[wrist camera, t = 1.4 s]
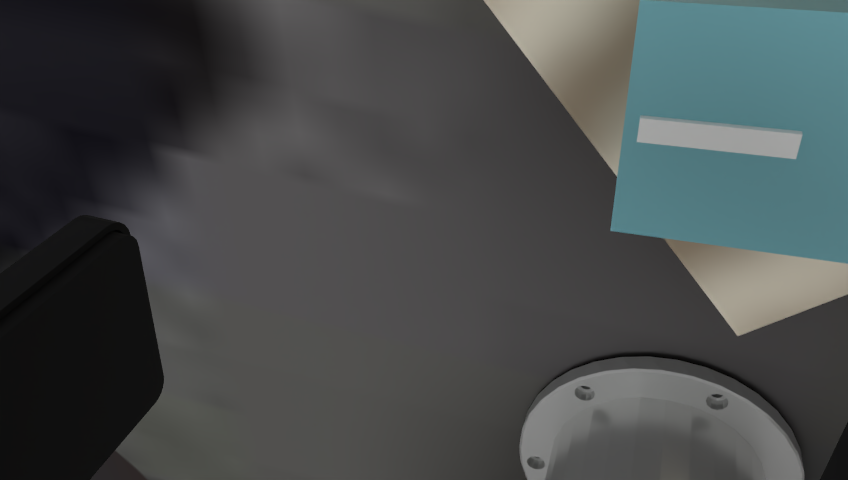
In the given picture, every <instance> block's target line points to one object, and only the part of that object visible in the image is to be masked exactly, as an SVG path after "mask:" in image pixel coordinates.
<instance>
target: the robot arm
mask: <svg viewBox="0 0 848 480" xmlns="http://www.w3.org/2000/svg"><path fill="white" fill-rule="evenodd" d="M163 383H164V375H163V370H162V365H161V359H160V354H159V349H158V344H157V339H156V334H155V328H154V323H153V318H152V313H151V308H150V302H149V297H148V292H147V287H146V282H145V277H144V271H143V266H142V261H141V256H140V251H139V246H138V243H137V240H136V239H135V238H134V237H133V236H131V235H130V232H129V229H128V228H127V227H126V226H125V225H124V224H122V223H120V222H115V221H111V220H106V219H102V218H97V217H93V216H89V215H83V216H79V217H77V218H75V219H74V220H72V221H71V222H70V223H68V224H67V225H65V226H64V227H63V228H61V229H60V230H59V231H57V232H56V233H55V234H53V235H52V236H51V237H49V238H48V239H46V240H45V241H44V242H42V243H41V244H40V245H38V246H37V247H36V248H34V249H33V250H32V251H30V252H29V253H27V254H26V255H25V256H23V257H22V258H21V259H19V260H18V261H17V262H15V263H14V264H13V265H11V266H10V267H8V268H7V269H6V270H4V271H3V272H2V273H0V480H90V479H91V478H92V476H93V475H94V474H95V473H96V472H97V470H98V469H99V468H100V467H101V466H102V465H103V463H104V462H105V461H106V460H107V459H108V458H109V457H110V455H111V454H112V453H113V452H114V451H115V450H116V448H117V447H118V446H119V445H120V444H121V442H122V441H123V440H124V439H125V438H126V437H127V435H128V434H129V433H130V432H131V431H132V430H133V428H134V427H135V426H136V425H137V424H138V423H139V421H140V420H141V419H142V418H143V417H144V416H145V414H146V413H147V412H148V411H149V410H150V409H151V407H152V406H153V405H154V404H155V403H156V401H157V400H158V398H159V396H160V394H161V392H162V388H163ZM519 450H520V461H521V465H522V468H523V470H524V473H525V476H526V478H527V480H804V468H803V461H802V455H801V449H800V447H799V445H798V443H797V440H796V438H795V436H794V434H793V431H792V429H791V428H790V427H789V425H788V424H787V423H786V421H785V420H784V419H783V418H782V416H781V415H780V414H779V412H778V411H777V410H776V409H775V408H774V407H772V406H771V405H770V404H769V403H768V402H767V401H766V400H764V399H763V398H762V397H761V396H760V395H759V394H758V393H756V392H754V391H753V390H751V389H750V388H748V387H746V386H745V385H743V384H741V383H740V382H738V381H736V380H735V379H733V378H731V377H728V376H726V375H724V374H721V373H719V372H716V371H714V370H712V369H709V368H707V367H703V366H699V365H696V364H692V363H688V362H684V361H680V360H675V359H666V358H658V357H650V356H644V357H618V358H612V359H606V360H601V361H595V362H592V363H589V364H586V365H583V366H581V367H578V368H575V369H572V370H570V371H568V372H567V373H565V374H563V375H562V376H560V377H558V378H557V379H555V380H553V381H552V382H551V383H550V384H549V385H548V386H547V387H545V388H544V389H543V390H542V391H541V392H540V393H539V394H538V395H537V397H536V398H535V400H534V402H533V403H532V405H531V406H530V408H529V409H528V412H527V415H526V419H525V422H524V425H523V428H522V432H521V439H520V445H519ZM820 480H848V423H847V425H846V427H845V429H844V431H843V433H842V435H841V437H840V439H839V442H838V444H837V446H836V448H835V450H834V452H833V454H832V456H831V458H830V460H829V462H828V465H827V467H826V469H825V471H824V473H823V475H822V477H821V479H820Z"/></svg>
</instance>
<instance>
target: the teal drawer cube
mask: <svg viewBox="0 0 848 480" xmlns="http://www.w3.org/2000/svg"><path fill="white" fill-rule="evenodd" d="M610 231H615V232H623V233H630V234H637V235H644V236H652V237H659V238H666V239H673V240H680V241H688V242H695V243H702V244H709V245H717V246H724V247H731V248H738V249H745V250H753V251H760V252H767V253H774V254H781V255H789V256H796V257H803V258H810V259H818V260H825V261H832V262H839V263H846V264H848V0H640V2H639V10H638V18H637V26H636V33H635V41H634V49H633V57H632V65H631V73H630V81H629V88H628V96H627V104H626V112H625V120H624V128H623V136H622V143H621V151H620V159H619V167H618V175H617V183H616V191H615V198H614V206H613V214H612V222H611V230H610Z"/></svg>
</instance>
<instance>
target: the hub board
mask: <svg viewBox="0 0 848 480" xmlns="http://www.w3.org/2000/svg"><path fill="white" fill-rule="evenodd" d="M484 1H485V3H486V4H487V5H488V7H489V8H490V9H491V11H492V12H493V13H494V15H495V16H496V17H497V19H498V20H499V21H500V23H501V24H502V25H503V27H504V28H505V29H506V31H507V32H508V33H509V35H510V36H511V37H512V38H513V40H514V41H515V42H516V44H517V45H518V46H519V48H520V49H521V50H522V52H523V53H524V54H525V56H526V57H527V58H528V60H529V61H530V62H531V64H532V65H533V66H534V68H535V69H536V70H537V72H538V73H539V74H540V75H541V77H542V78H543V79H544V81H545V82H546V83H547V85H548V86H549V87H550V89H551V90H552V91H553V93H554V94H555V95H556V97H557V98H558V99H559V101H560V102H561V103H562V105H563V106H564V107H565V109H566V110H567V111H568V112H569V114H570V115H571V116H572V118H573V119H574V120H575V122H576V123H577V124H578V126H579V127H580V128H581V130H582V131H583V132H584V134H585V135H586V136H587V138H588V139H589V140H590V142H591V143H592V144H593V146H594V147H595V148H596V149H597V151H598V152H599V153H600V155H601V156H602V157H603V159H604V160H605V161H606V163H607V164H608V165H609V167H610V168H611V169H612V171H613V172H614V173H615V175H616V176H617V175H618V167H619V159H620V151H621V143H622V136H623V128H624V120H625V112H626V104H627V96H628V88H629V81H630V73H631V65H632V57H633V49H634V41H635V33H636V26H637V18H638V10H639V2H640V0H484ZM664 239H665V241H666V242H667V243H668V245H669V246H670V247H671V249H672V250H673V251H674V253H675V254H676V255H677V257H678V258H679V259H680V261H681V262H682V263H683V264H684V266H685V267H686V268H687V270H688V271H689V272H690V274H691V275H692V276H693V278H694V279H695V280H696V282H697V283H698V284H699V286H700V287H701V288H702V290H703V291H704V292H705V294H706V295H707V296H708V298H709V299H710V300H711V301H712V303H713V304H714V305H715V307H716V308H717V309H718V311H719V312H720V313H721V315H722V316H723V317H724V319H725V320H726V321H727V323H728V324H729V325H730V327H731V328H732V329H733V331H734V332H735V333H736V335H737V336H740V335H742V334H745V333H748V332H750V331H753V330H755V329H758V328H761V327H763V326H766V325H769V324H771V323H774V322H776V321H779V320H782V319H784V318H787V317H790V316H792V315H795V314H797V313H800V312H803V311H805V310H808V309H811V308H813V307H816V306H818V305H821V304H824V303H826V302H829V301H832V300H834V299H837V298H839V297H842V296H845V295H847V294H848V264H846V263H839V262H832V261H825V260H818V259H810V258H803V257H796V256H789V255H781V254H774V253H767V252H760V251H753V250H745V249H738V248H731V247H724V246H717V245H709V244H702V243H695V242H688V241H680V240H673V239H666V238H664Z"/></svg>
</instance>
